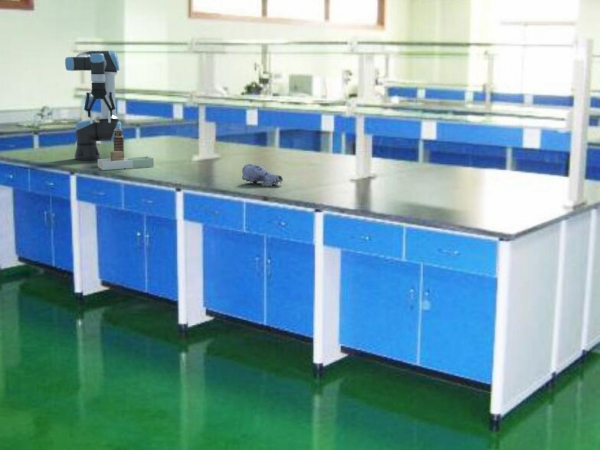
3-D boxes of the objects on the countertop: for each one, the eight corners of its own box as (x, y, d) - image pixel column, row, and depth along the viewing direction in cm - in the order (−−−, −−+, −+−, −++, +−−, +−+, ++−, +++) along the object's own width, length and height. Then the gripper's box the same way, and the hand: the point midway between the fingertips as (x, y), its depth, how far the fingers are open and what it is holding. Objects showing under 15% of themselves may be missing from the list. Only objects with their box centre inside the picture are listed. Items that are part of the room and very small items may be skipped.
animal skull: (270, 192, 410) (270, 172, 406) (236, 184, 422) (235, 165, 419) (287, 185, 420) (287, 166, 416) (254, 178, 432) (253, 159, 429)
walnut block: (110, 161, 479) (110, 151, 478) (121, 161, 482) (120, 150, 480) (113, 163, 474) (112, 152, 473) (124, 162, 476) (123, 151, 475)
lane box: (98, 167, 480) (97, 158, 479) (148, 164, 492) (147, 155, 491) (102, 170, 469) (102, 161, 468) (153, 166, 481) (153, 157, 480)
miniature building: (111, 164, 490) (109, 130, 486) (108, 162, 500) (106, 128, 496) (129, 163, 494) (128, 129, 490) (126, 161, 504) (124, 127, 499)
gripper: (79, 82, 457) (81, 124, 462) (119, 81, 466) (121, 122, 471) (76, 82, 463) (79, 123, 468) (116, 81, 473) (118, 121, 477)
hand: (100, 122), depth 470 cm, fingers open, 9 cm apart
